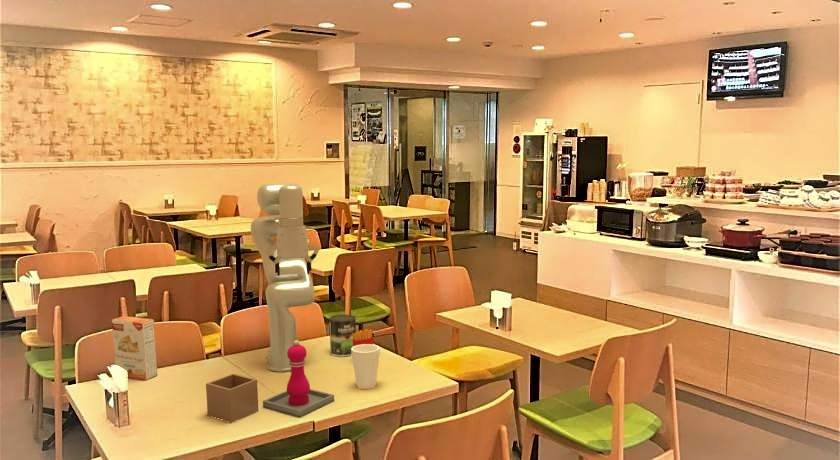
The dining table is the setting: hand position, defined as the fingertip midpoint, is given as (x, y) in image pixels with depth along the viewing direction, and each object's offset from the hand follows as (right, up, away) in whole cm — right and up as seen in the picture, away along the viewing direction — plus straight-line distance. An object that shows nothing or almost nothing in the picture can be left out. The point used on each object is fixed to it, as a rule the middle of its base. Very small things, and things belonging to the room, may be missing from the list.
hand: (293, 274), depth 225 cm
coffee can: (+12, -34, +40) cm, 54 cm away
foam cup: (+24, -38, +4) cm, 45 cm away
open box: (-15, -41, -18) cm, 47 cm away
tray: (+4, -40, -12) cm, 42 cm away
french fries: (+21, -35, +30) cm, 50 cm away
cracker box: (-59, -38, +16) cm, 72 cm away
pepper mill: (+4, -40, -12) cm, 41 cm away
